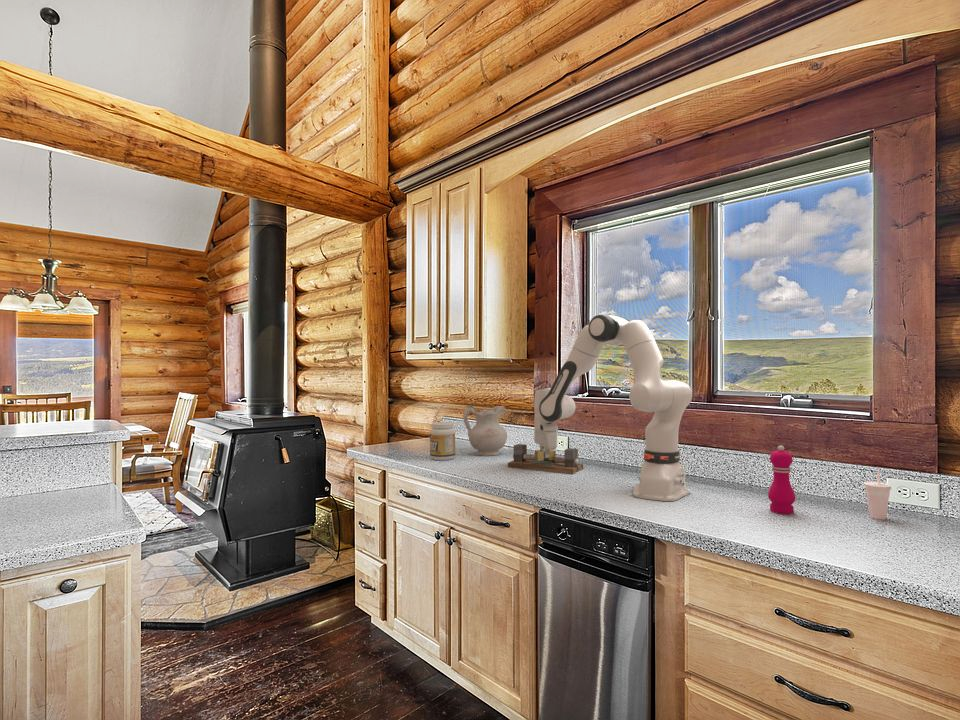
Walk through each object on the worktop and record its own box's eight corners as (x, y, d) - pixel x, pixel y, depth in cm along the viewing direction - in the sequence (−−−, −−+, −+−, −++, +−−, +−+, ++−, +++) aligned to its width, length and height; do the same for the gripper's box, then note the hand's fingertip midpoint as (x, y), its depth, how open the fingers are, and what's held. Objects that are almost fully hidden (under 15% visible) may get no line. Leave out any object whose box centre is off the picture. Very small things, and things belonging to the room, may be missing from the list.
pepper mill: (763, 507, 162) (762, 443, 162) (787, 507, 162) (786, 443, 162) (776, 514, 155) (775, 447, 155) (800, 514, 155) (800, 447, 155)
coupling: (555, 460, 224) (555, 450, 224) (537, 461, 223) (537, 451, 223) (552, 458, 228) (552, 449, 228) (534, 459, 226) (534, 450, 226)
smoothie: (897, 519, 149) (896, 470, 149) (880, 521, 147) (880, 472, 147) (874, 513, 155) (874, 466, 155) (858, 515, 153) (858, 467, 153)
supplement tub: (424, 458, 250) (424, 423, 250) (444, 455, 258) (444, 421, 258) (440, 462, 241) (440, 425, 241) (460, 458, 249) (460, 423, 249)
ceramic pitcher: (472, 461, 248) (474, 409, 246) (457, 451, 266) (458, 403, 264) (513, 457, 257) (514, 407, 255) (495, 448, 274) (497, 401, 273)
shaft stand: (572, 474, 212) (572, 452, 212) (508, 467, 228) (507, 446, 228) (583, 468, 223) (583, 447, 223) (520, 462, 238) (520, 442, 238)
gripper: (530, 422, 235) (530, 452, 235) (545, 427, 215) (545, 461, 215) (544, 421, 236) (544, 452, 236) (559, 427, 216) (560, 460, 216)
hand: (545, 456), depth 225 cm, fingers closed on coupling, 3 cm apart
